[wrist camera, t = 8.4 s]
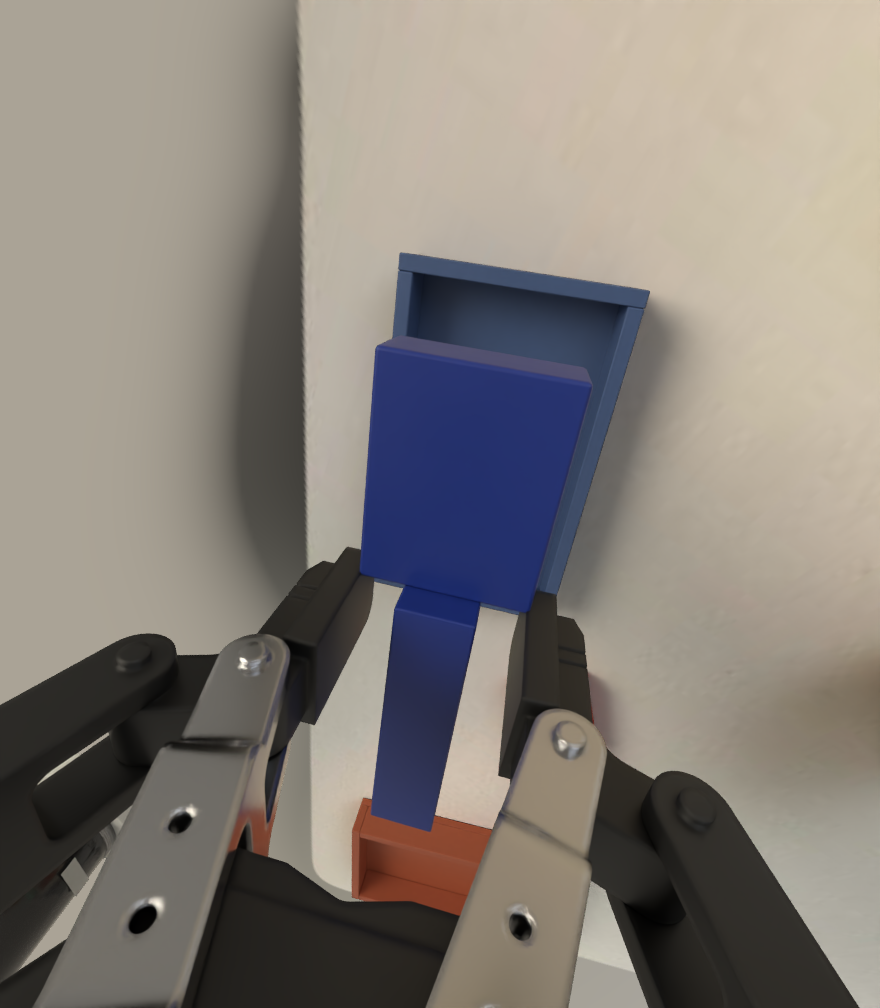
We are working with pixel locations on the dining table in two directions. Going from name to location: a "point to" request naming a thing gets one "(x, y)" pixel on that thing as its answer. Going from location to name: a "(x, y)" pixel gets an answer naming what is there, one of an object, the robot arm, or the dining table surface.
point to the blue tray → (530, 349)
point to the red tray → (415, 860)
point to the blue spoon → (455, 529)
